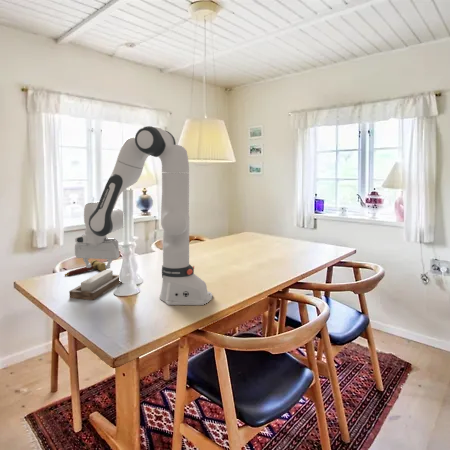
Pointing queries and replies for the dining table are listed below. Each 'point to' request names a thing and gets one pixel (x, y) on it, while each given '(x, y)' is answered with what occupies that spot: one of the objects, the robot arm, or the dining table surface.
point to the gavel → (94, 265)
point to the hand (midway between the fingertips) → (98, 267)
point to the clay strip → (97, 281)
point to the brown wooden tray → (96, 293)
